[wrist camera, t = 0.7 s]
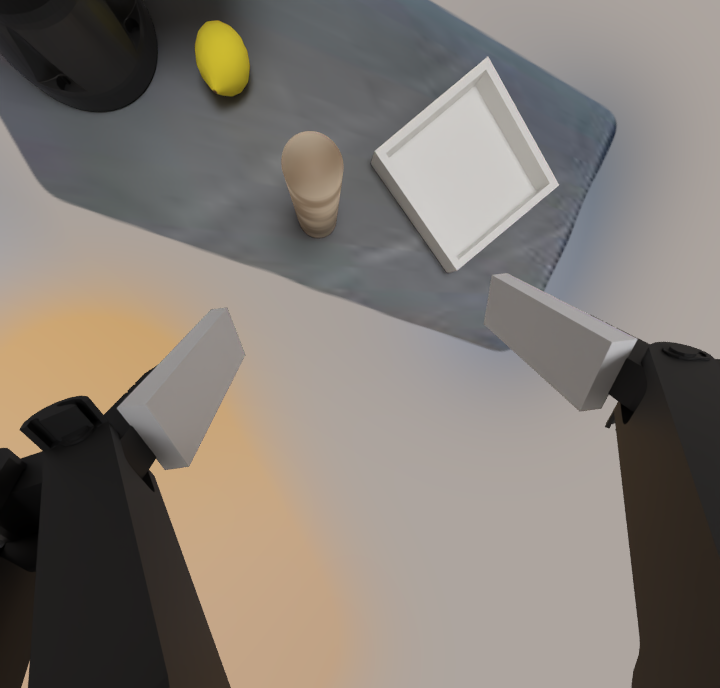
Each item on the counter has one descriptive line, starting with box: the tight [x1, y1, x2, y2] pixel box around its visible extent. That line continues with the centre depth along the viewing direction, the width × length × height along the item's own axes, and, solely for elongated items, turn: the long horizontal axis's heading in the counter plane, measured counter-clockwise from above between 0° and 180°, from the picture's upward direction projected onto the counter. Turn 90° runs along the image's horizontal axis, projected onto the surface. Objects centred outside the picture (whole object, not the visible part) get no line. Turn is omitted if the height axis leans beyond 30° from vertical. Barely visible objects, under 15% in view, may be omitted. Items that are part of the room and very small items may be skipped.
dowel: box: [281, 131, 343, 238], centre depth 29 cm, size 5×5×14 cm
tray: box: [371, 57, 559, 273], centre depth 36 cm, size 18×18×3 cm
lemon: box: [195, 20, 250, 96], centre depth 29 cm, size 7×5×5 cm
